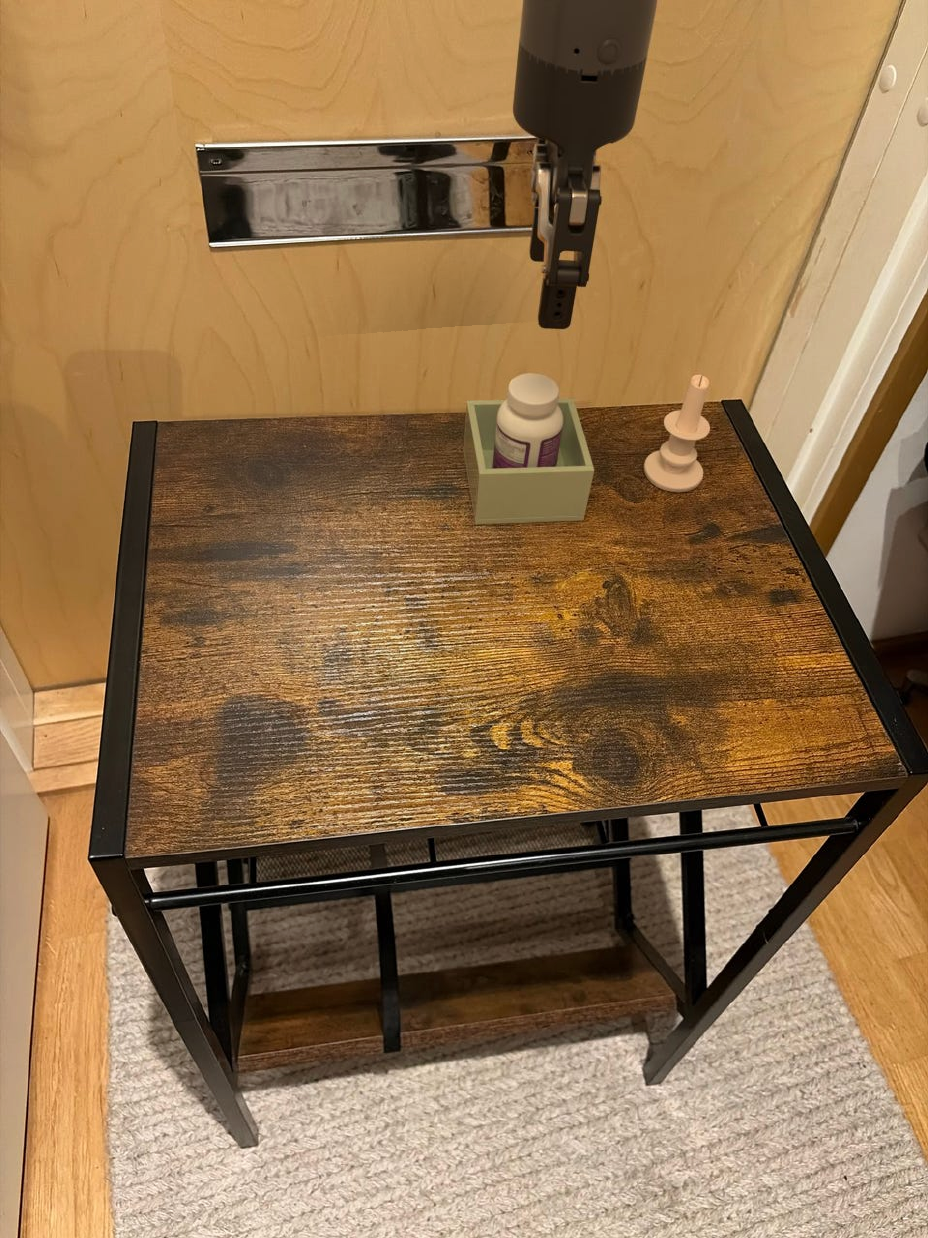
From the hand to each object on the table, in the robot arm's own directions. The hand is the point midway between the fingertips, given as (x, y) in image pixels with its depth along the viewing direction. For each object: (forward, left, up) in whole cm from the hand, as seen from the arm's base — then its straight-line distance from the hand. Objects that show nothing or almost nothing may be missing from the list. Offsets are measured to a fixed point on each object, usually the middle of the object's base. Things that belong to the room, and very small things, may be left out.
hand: (548, 291), depth 67 cm
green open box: (0, 0, -19) cm, 19 cm away
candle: (+11, -8, -19) cm, 23 cm away
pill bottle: (0, 0, -18) cm, 18 cm away
